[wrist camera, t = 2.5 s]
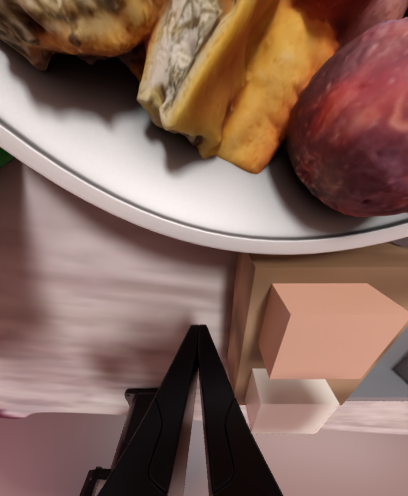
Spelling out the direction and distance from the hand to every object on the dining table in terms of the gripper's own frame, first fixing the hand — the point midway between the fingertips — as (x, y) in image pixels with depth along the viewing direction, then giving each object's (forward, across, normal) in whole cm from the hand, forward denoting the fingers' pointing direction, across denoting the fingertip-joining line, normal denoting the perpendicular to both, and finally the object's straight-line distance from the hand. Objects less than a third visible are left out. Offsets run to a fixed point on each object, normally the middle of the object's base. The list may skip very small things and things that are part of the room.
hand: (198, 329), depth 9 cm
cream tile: (+1, -6, +8) cm, 10 cm away
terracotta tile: (+1, -6, 0) cm, 6 cm away
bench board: (+5, -8, +4) cm, 10 cm away
